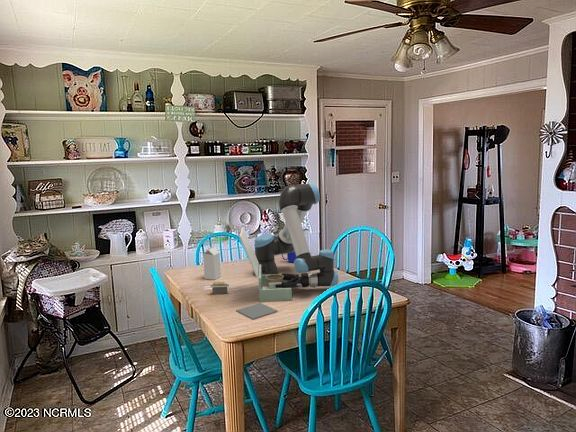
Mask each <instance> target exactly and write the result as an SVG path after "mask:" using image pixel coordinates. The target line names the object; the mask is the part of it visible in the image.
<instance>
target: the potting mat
mask: <svg viewBox="0 0 576 432" xmlns="http://www.w3.org/2000/svg"><path fill="white" fill-rule="evenodd" d="M235 311H236V312H237V313H238V314H241V315H242V316H244V317H247V318H249V319H251V320H257V319H259V318H264V317H266V316H269V315H272V314H274V313H278V312H279V310H277V309H276V308H273V307H271V306H269V305H266V304H265V303H261V302H259V303H255V304H252V305H249V306H246V307H242V308H239V309H236V310H235Z"/></svg>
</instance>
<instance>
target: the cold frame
mask: <svg viewBox="0 0 576 432" xmlns="http://www.w3.org/2000/svg"><path fill="white" fill-rule="evenodd" d="M279 274H280V275H281V274H282V273H279ZM269 275H271V274H269ZM266 276H267V275H262V270H261V264H259V276H258V277H257V278H258V300H259V303H261V302H282V301H292V299H293V298H292V297H293V296H292V295H293V292H292V288H278V289H269V288H263V286H264V287H267V286H268V282H267V279H266ZM282 282H287V280H282Z"/></svg>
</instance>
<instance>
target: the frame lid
mask: <svg viewBox="0 0 576 432" xmlns="http://www.w3.org/2000/svg"><path fill="white" fill-rule="evenodd" d="M239 240H240V242H241V245H242V246H243V250H244V251H245V253H246V256H247V258H248V261H249V264H250V265H251V268H252V271H253V270H254V273H255V275H256V276H255V275H254V276H255V277H256V278H258V277H259V276H258V266H259V262H258V260H257V258H256V255H255V250H254V249H253V246H252V244H251V242H250V239H249V237H248V234H247V231H246V230H245V227H244V226H241V230H240V233H239Z"/></svg>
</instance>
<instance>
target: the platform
mask: <svg viewBox="0 0 576 432" xmlns="http://www.w3.org/2000/svg"><path fill="white" fill-rule="evenodd" d="M209 287H210V288H212V295H222V294H223V295H224V294H225V295H226V294H228V293H229V291H228V287H230V284H228V283H225V281H216V282H215V283H213V284H210V285H209Z"/></svg>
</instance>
